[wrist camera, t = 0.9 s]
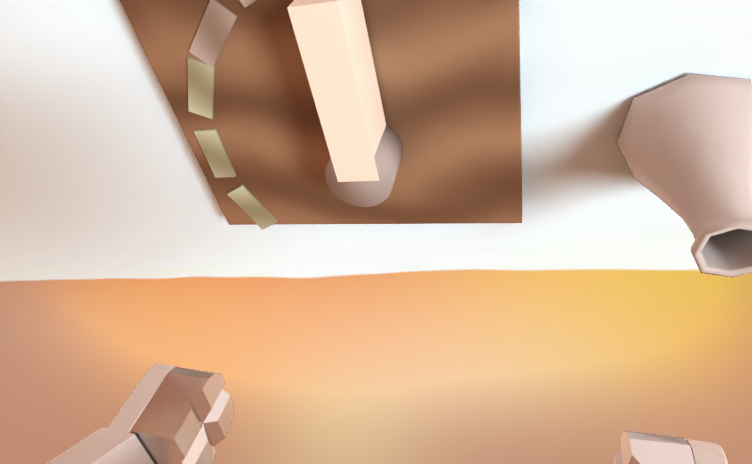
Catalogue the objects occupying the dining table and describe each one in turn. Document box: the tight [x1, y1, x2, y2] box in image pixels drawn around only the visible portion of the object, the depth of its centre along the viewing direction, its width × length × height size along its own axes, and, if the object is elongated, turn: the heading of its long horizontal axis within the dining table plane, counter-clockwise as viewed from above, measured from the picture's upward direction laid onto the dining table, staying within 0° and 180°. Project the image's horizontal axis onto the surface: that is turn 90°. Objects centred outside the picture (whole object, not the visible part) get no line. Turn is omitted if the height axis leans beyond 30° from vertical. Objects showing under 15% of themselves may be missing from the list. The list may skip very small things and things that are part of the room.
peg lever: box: [287, 0, 403, 207], centre depth 29 cm, size 14×4×4 cm, turn 11°
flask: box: [617, 73, 752, 277], centre depth 26 cm, size 7×7×10 cm
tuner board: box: [120, 0, 522, 229], centre depth 32 cm, size 19×22×2 cm
